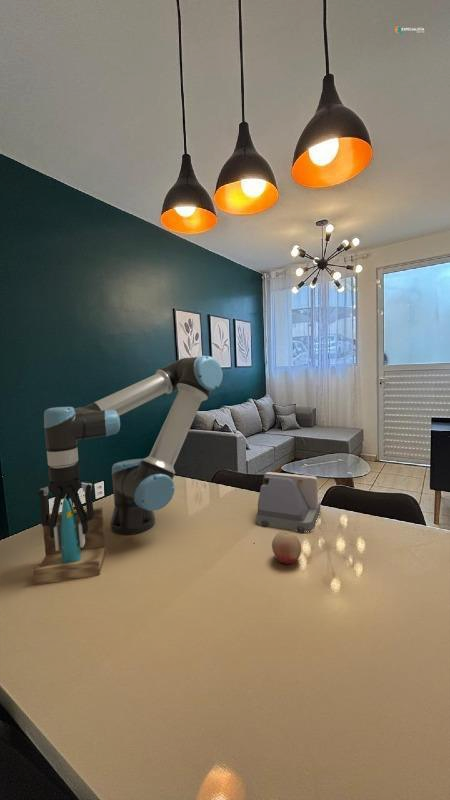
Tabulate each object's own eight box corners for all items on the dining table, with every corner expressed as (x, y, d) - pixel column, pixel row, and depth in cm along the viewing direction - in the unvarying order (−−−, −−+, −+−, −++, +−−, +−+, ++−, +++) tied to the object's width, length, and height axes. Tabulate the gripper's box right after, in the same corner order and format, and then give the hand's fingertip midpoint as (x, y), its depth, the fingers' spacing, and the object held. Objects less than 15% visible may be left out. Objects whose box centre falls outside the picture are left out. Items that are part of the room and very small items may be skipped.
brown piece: (105, 552, 102) (102, 507, 101) (99, 574, 91) (95, 524, 90) (48, 561, 99) (43, 514, 98) (34, 584, 88) (29, 532, 86)
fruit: (304, 555, 95) (303, 528, 95) (297, 571, 88) (296, 542, 88) (276, 550, 99) (275, 524, 98) (268, 565, 92) (267, 536, 91)
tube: (81, 563, 92) (75, 494, 91) (62, 568, 90) (55, 497, 89) (80, 551, 99) (74, 486, 97) (62, 555, 97) (56, 489, 95)
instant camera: (328, 514, 122) (327, 473, 121) (306, 538, 106) (304, 491, 104) (275, 503, 135) (274, 466, 133) (247, 523, 118) (246, 481, 117)
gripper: (101, 457, 98) (107, 535, 100) (31, 464, 94) (38, 544, 96) (97, 464, 90) (104, 548, 92) (20, 471, 87) (29, 558, 89)
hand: (70, 546), depth 94 cm, fingers open, 5 cm apart
